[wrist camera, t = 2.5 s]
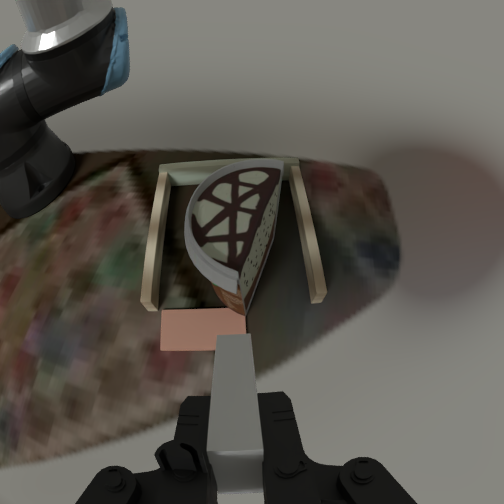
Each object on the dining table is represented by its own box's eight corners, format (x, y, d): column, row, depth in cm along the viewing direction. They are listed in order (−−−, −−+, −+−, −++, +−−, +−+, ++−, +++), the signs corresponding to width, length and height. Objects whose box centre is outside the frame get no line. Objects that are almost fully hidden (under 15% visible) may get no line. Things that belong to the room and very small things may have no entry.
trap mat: (162, 310, 27) (161, 309, 27) (244, 308, 28) (244, 307, 27) (161, 350, 25) (160, 349, 25) (247, 348, 26) (247, 348, 25)
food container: (226, 215, 33) (219, 144, 25) (277, 228, 32) (285, 157, 24) (179, 310, 27) (148, 252, 19) (240, 331, 26) (234, 279, 18)
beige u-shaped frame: (164, 181, 36) (159, 164, 34) (295, 174, 37) (298, 157, 34) (148, 311, 27) (138, 299, 25) (321, 302, 28) (328, 290, 25)
